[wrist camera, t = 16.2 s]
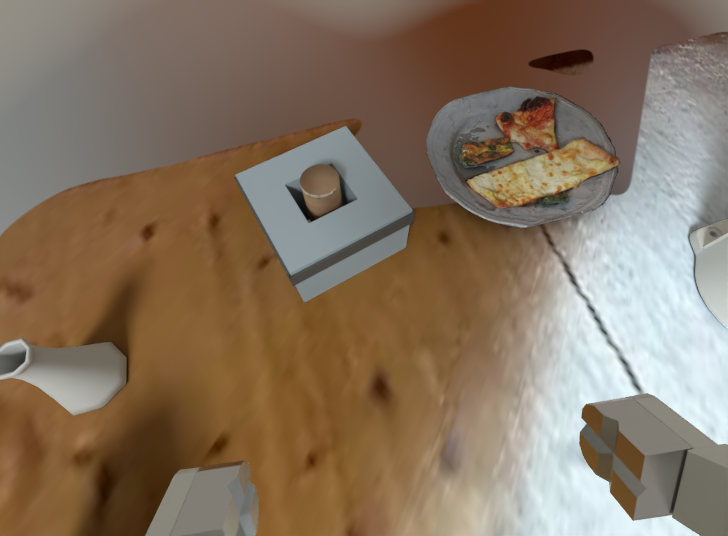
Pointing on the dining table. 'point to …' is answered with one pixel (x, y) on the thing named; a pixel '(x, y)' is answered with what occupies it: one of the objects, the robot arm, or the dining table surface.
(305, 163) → the collar block
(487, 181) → the food plate
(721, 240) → the robot arm
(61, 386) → the flask
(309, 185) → the beige cylinder
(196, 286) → the dining table surface
